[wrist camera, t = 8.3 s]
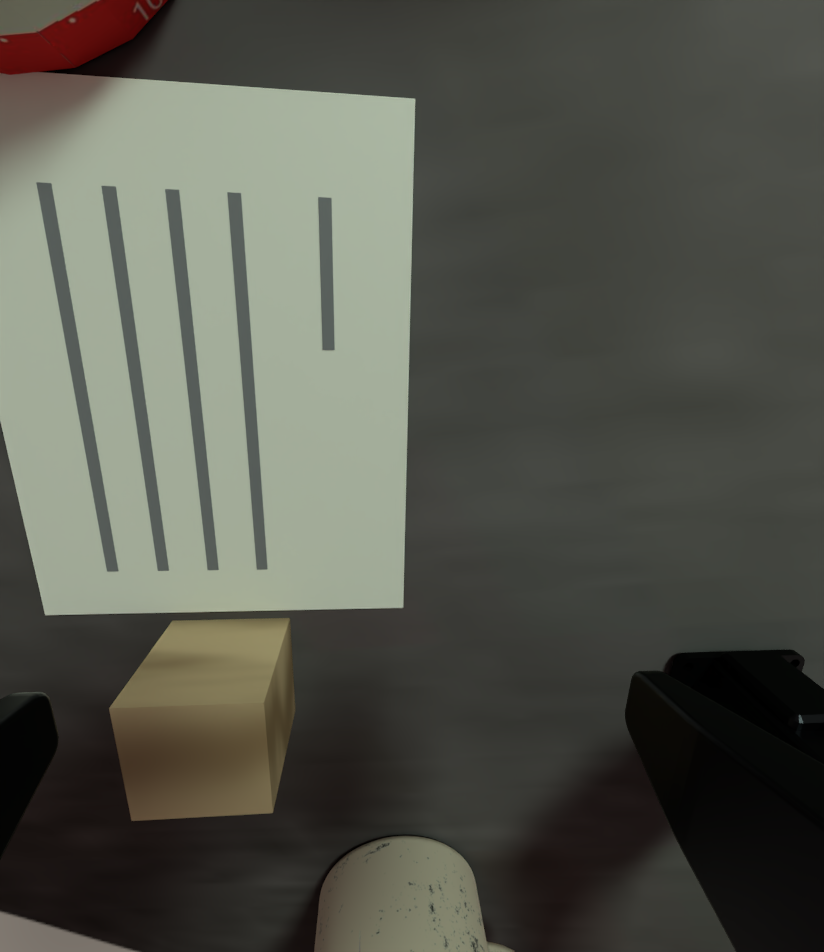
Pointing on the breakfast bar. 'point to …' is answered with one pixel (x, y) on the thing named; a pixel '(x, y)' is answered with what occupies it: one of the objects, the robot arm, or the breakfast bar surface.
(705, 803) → the robot arm
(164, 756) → the block
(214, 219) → the letter
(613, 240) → the breakfast bar surface
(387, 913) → the teacup with lid
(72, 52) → the kitchen timer
